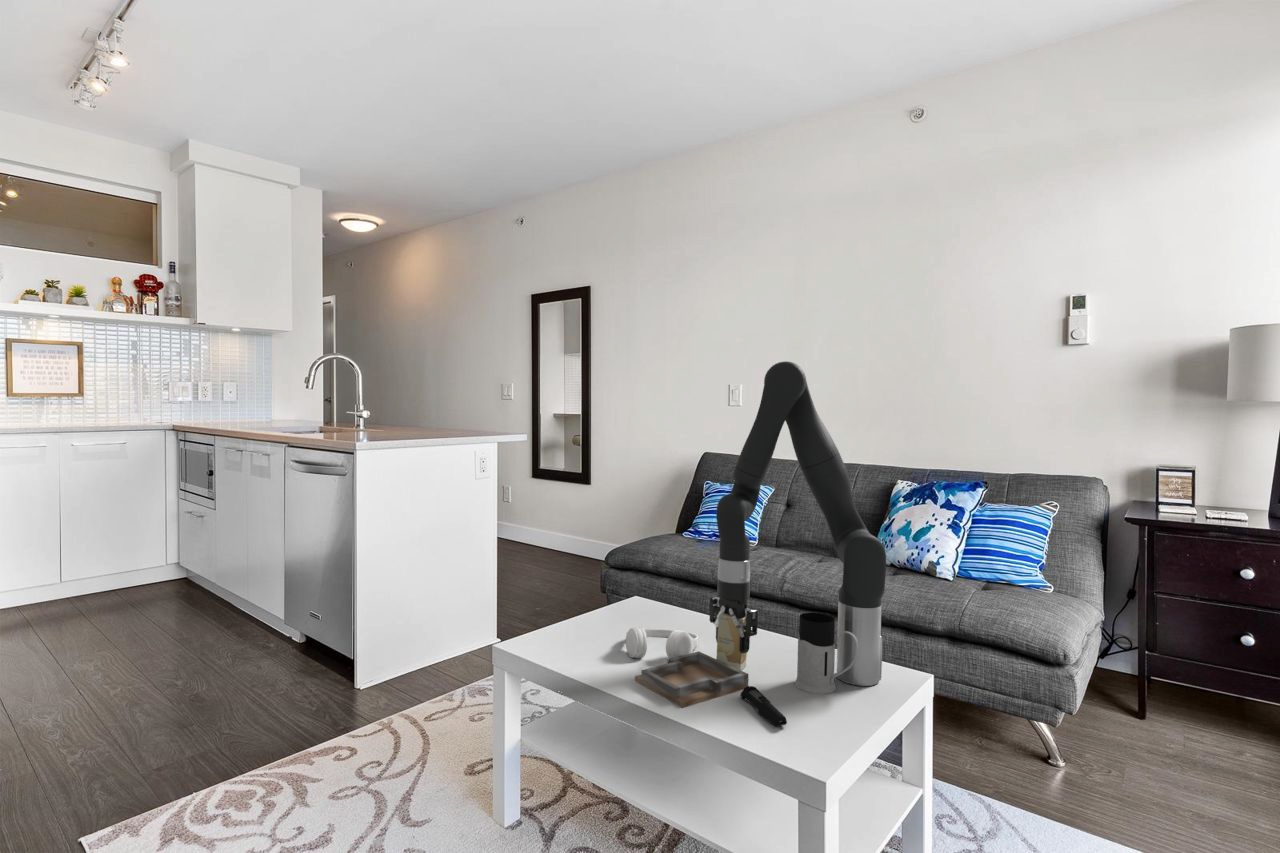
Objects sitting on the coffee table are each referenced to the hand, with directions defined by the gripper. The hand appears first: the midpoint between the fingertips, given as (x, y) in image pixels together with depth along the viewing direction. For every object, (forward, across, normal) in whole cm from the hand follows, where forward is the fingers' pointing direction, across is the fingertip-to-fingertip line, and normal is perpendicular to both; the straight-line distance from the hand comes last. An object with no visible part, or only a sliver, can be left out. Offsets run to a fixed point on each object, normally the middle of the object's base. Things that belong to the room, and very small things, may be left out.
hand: (732, 647), depth 157 cm
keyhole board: (+4, -3, +15) cm, 16 cm away
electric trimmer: (+5, -21, +12) cm, 25 cm away
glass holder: (+5, -21, -8) cm, 23 cm away
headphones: (+5, +18, +7) cm, 20 cm away
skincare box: (+5, 0, 0) cm, 5 cm away
